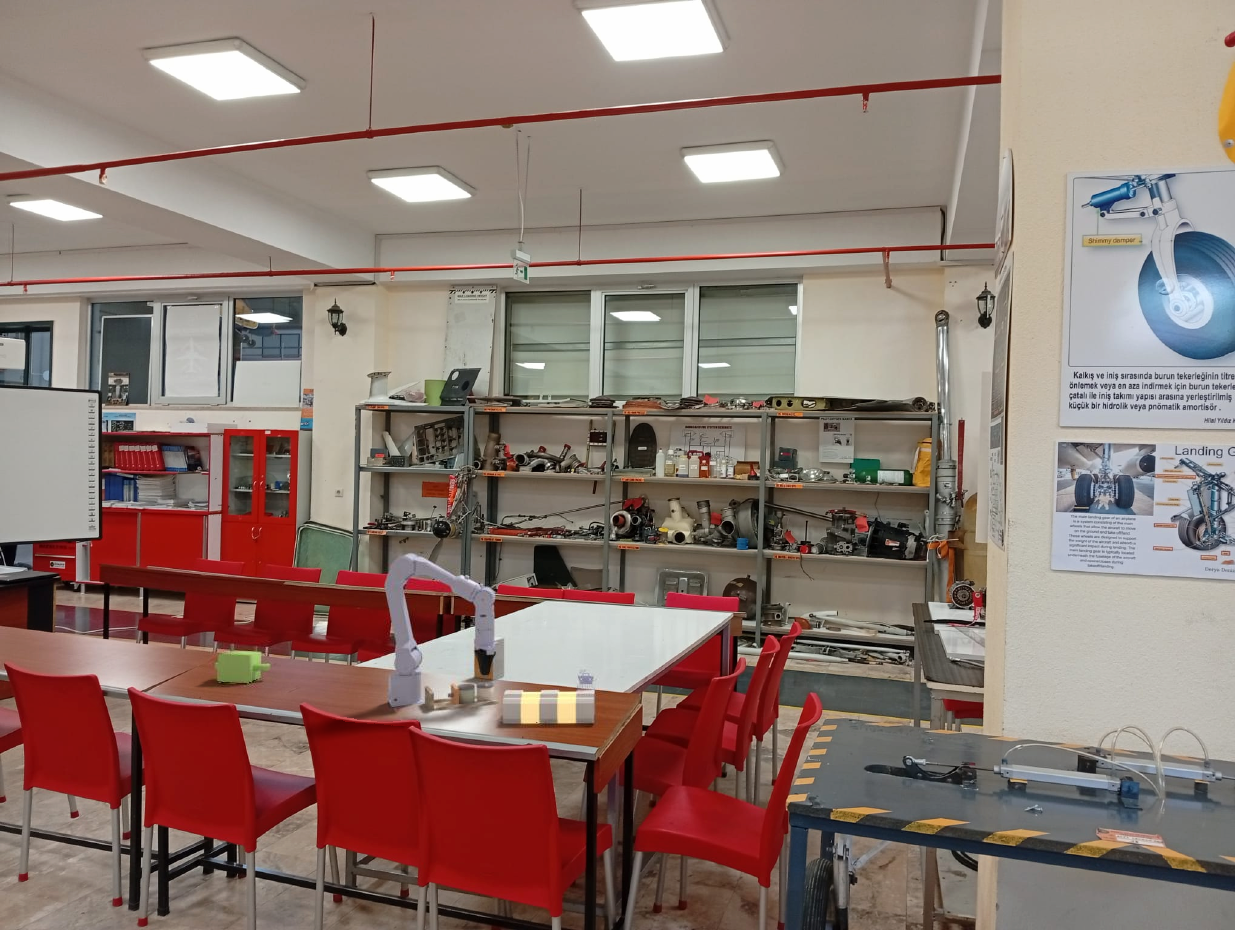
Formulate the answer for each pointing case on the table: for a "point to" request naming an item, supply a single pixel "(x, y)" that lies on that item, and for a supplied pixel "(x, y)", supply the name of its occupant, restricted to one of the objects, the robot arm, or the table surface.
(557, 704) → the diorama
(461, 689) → the green jar
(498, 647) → the small box
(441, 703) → the lane
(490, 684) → the cream jar
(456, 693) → the pusher
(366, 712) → the table surface
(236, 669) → the gearbox
